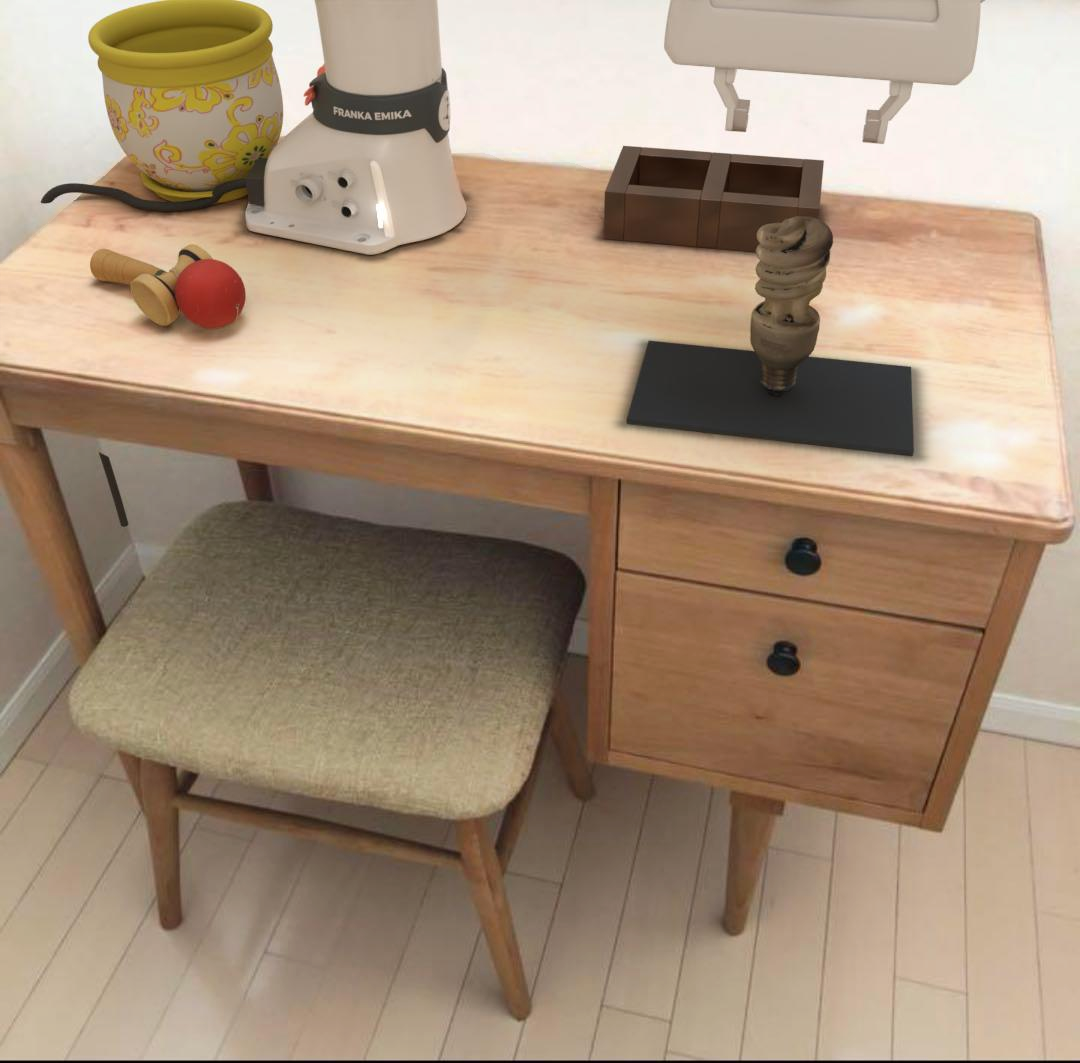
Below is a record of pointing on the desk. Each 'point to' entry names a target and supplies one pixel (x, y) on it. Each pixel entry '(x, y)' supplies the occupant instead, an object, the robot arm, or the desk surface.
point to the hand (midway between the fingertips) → (804, 134)
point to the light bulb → (788, 297)
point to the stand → (706, 196)
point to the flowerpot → (190, 92)
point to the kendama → (177, 286)
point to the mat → (775, 399)
